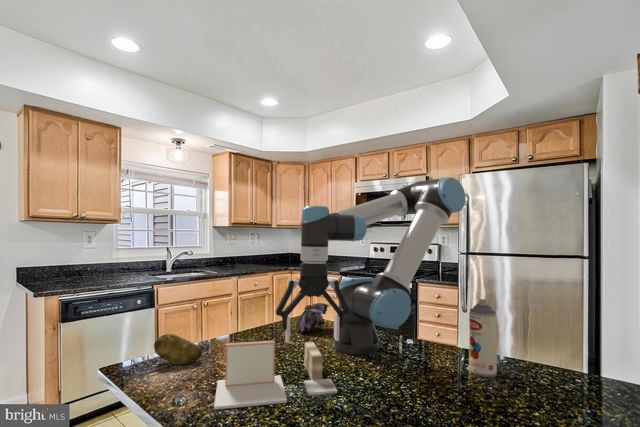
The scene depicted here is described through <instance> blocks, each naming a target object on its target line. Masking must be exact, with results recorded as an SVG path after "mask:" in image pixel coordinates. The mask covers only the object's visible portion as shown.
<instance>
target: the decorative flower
mask: <svg viewBox="0 0 640 427" xmlns="http://www.w3.org/2000/svg"><path fill="white" fill-rule="evenodd" d="M329 307H331V305H330V304H327V303H323V302H319V303H318V302H317V303H313V304H312V305H311V304H307V305H306V306H304V311H303V312H302V313H301V314H300V315H299V317H298V320H297V322H296V330H297V334H303V332H304V328H306V329H307V330H308V332H309V333H311V331H313V330H314V328H315V327H316V326H317V327H320V328H323V331H327V327H329V326H328V324H327V323H325V319H324V317H323V315H326V314H327V311H328V308H329Z"/></svg>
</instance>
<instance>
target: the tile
mask: <svg viewBox="0 0 640 427" xmlns="http://www.w3.org/2000/svg"><path fill="white" fill-rule="evenodd" d="M275 351H276V342H275V340H260V341H259V340H258V341H245V342H231V343H230V342H226V344H225V379H224V380H225V387H228V386H240V385H252V384H263V383H274V376H275V366H276V365H275V363H276V359H275V358H276V357H275V356H276V354H275V353H276V352H275Z"/></svg>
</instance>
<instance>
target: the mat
mask: <svg viewBox="0 0 640 427" xmlns="http://www.w3.org/2000/svg"><path fill="white" fill-rule="evenodd" d="M284 386H285V385H284V383H283V380H282V376H281V375H280V374H278V375H274V383H263V384H252V385H240V386H228V387H225V379H218V380H217V384H216V390H215V391H216V392H215V395H214V396H215V397H214V403H213V411H214V410H215V411H216V410H224V409H235V408H244V407H245V408H246V407H255V406H256V407H257V406H263V405H265V406H266V405H267V406H268V405H276V404H277V405H278V404H285V403H288V399H287V395H286V391H285V387H284Z"/></svg>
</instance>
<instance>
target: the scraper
mask: <svg viewBox="0 0 640 427" xmlns="http://www.w3.org/2000/svg"><path fill="white" fill-rule="evenodd" d="M303 347H304V352H303V353H304V356H303V359H304V362H303V363H304V364H303V365H304V368H305V369H306V372H307V374H308V376H309V380H307V379H306V380H303V384H304V387H305V390H306V393H307V394H308V396H309V397H310V396H320V395H329V394H330V395H331V394H338V389H337V387H336V385H335V384H334V382H333V380H332V379H331V378H323V355H322V353H321V352H320V350H319V349H318V347H317V345H316V344H315V343H314V341H307V342H306V341H305V342H304V346H303Z"/></svg>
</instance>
